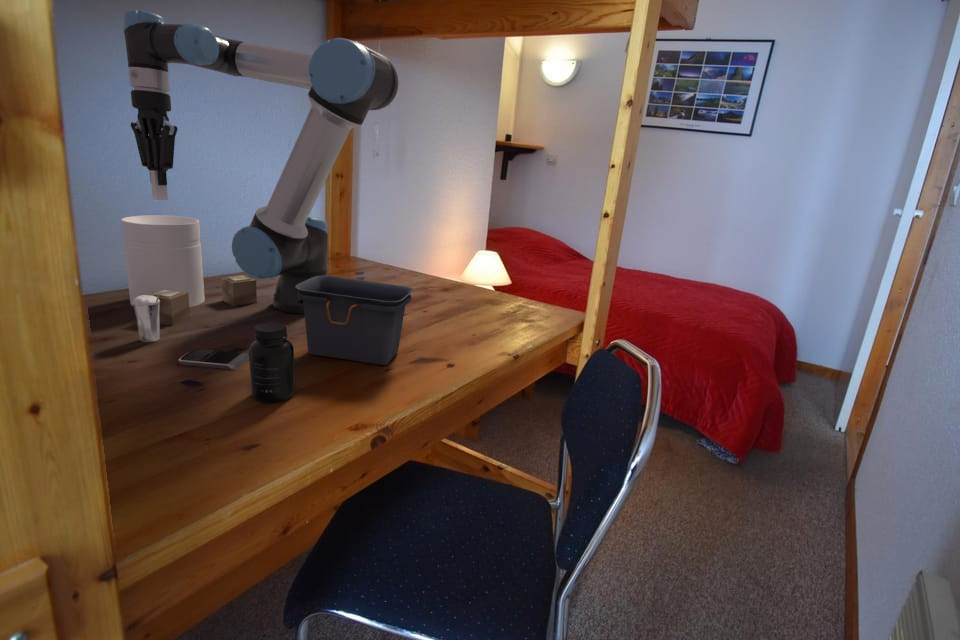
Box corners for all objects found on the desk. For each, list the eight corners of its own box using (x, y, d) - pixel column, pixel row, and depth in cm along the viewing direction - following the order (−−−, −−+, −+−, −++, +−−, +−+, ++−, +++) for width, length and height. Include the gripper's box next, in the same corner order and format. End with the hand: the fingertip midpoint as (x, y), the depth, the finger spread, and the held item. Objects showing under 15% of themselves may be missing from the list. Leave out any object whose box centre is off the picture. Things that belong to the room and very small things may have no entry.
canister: (116, 300, 130) (107, 217, 124) (181, 289, 143) (175, 214, 137) (153, 314, 122) (144, 226, 116) (218, 302, 135) (213, 222, 129)
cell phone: (194, 355, 103) (193, 348, 103) (251, 360, 103) (250, 353, 103) (175, 366, 97) (175, 359, 97) (236, 372, 97) (235, 365, 97)
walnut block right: (256, 302, 138) (256, 279, 136) (233, 306, 133) (232, 281, 131) (245, 297, 141) (244, 274, 139) (222, 300, 137) (221, 276, 135)
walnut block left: (190, 318, 122) (188, 291, 120) (173, 325, 116) (170, 297, 114) (165, 315, 122) (163, 288, 121) (147, 322, 117) (144, 294, 115)
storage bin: (414, 350, 115) (417, 285, 110) (392, 377, 100) (395, 304, 96) (319, 337, 117) (319, 273, 113) (285, 362, 102) (283, 290, 98)
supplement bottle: (258, 385, 92) (255, 319, 88) (299, 387, 93) (298, 321, 89) (244, 403, 85) (241, 332, 82) (288, 405, 86) (287, 334, 82)
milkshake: (154, 345, 104) (150, 296, 102) (131, 341, 105) (125, 292, 102) (172, 338, 109) (167, 291, 106) (149, 334, 110) (144, 287, 107)
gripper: (114, 87, 117) (126, 197, 124) (153, 89, 112) (163, 203, 119) (148, 92, 124) (157, 196, 131) (185, 94, 119) (193, 201, 126)
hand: (160, 199), depth 125 cm, fingers closed
